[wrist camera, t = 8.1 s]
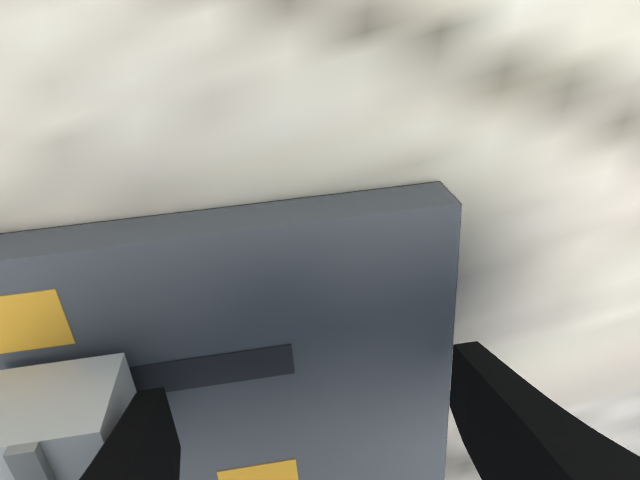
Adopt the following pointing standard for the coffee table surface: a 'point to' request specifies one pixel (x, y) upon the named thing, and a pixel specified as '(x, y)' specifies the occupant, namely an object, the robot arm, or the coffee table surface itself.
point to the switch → (60, 415)
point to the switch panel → (262, 326)
